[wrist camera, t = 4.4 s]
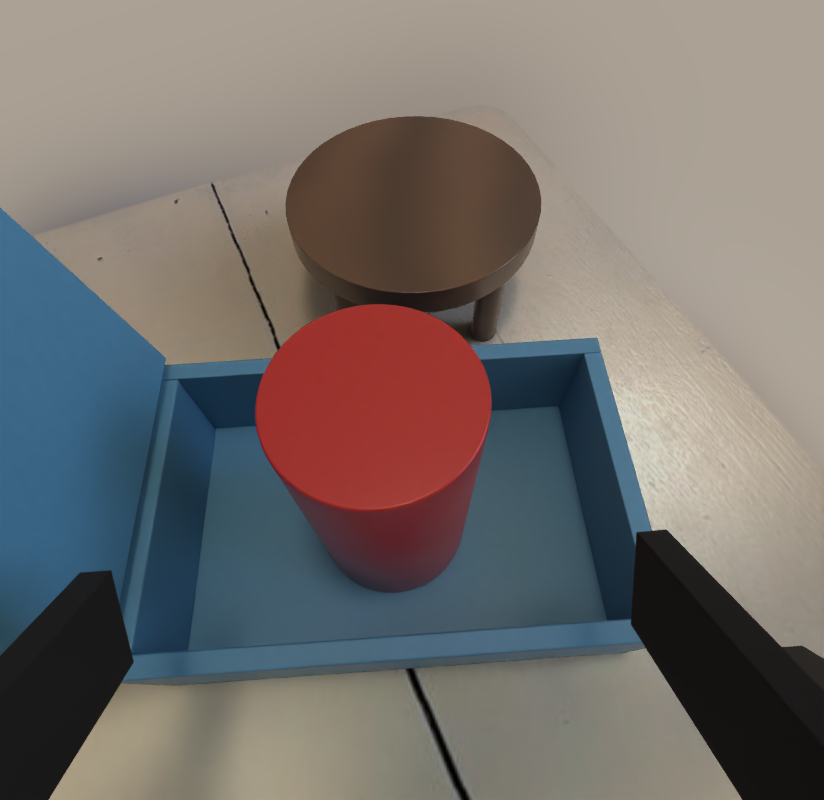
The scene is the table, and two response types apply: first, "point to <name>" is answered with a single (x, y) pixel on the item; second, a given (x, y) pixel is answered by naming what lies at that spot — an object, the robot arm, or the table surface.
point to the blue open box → (347, 600)
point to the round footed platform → (415, 216)
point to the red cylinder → (378, 438)
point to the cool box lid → (65, 430)
